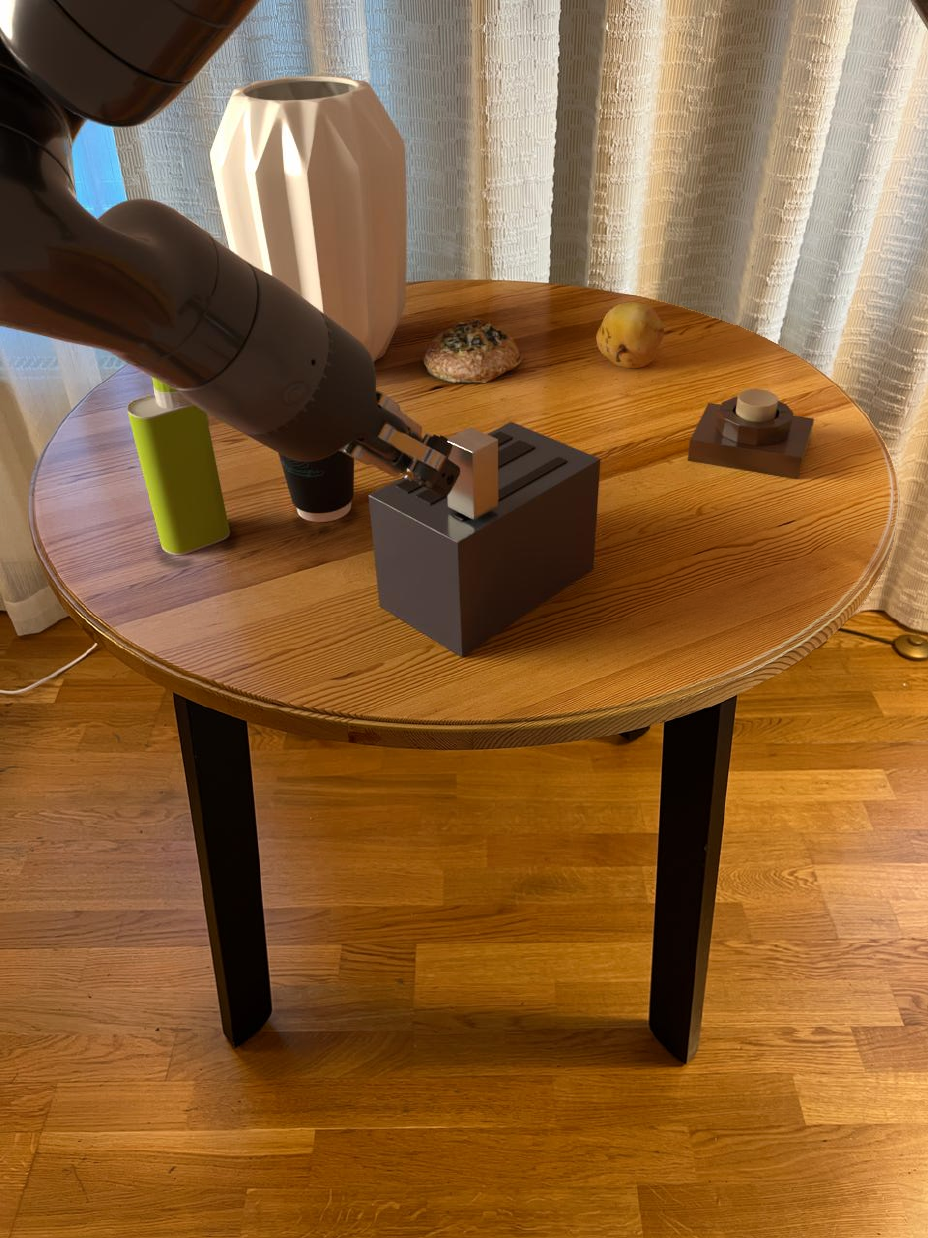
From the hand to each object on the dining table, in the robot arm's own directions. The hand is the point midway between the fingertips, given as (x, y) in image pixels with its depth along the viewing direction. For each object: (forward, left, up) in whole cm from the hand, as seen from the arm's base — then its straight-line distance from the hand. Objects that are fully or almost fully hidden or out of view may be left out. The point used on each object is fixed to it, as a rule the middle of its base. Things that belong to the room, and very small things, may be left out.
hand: (446, 479), depth 67 cm
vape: (+26, -5, -14) cm, 30 cm away
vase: (+33, -42, -14) cm, 55 cm away
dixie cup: (+18, -13, -14) cm, 26 cm away
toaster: (0, -7, -13) cm, 15 cm away
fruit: (+1, -51, -14) cm, 53 cm away
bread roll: (+17, -45, -14) cm, 50 cm away
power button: (-15, -36, -10) cm, 40 cm away
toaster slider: (-1, -2, -3) cm, 4 cm away
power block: (-15, -36, -14) cm, 41 cm away
